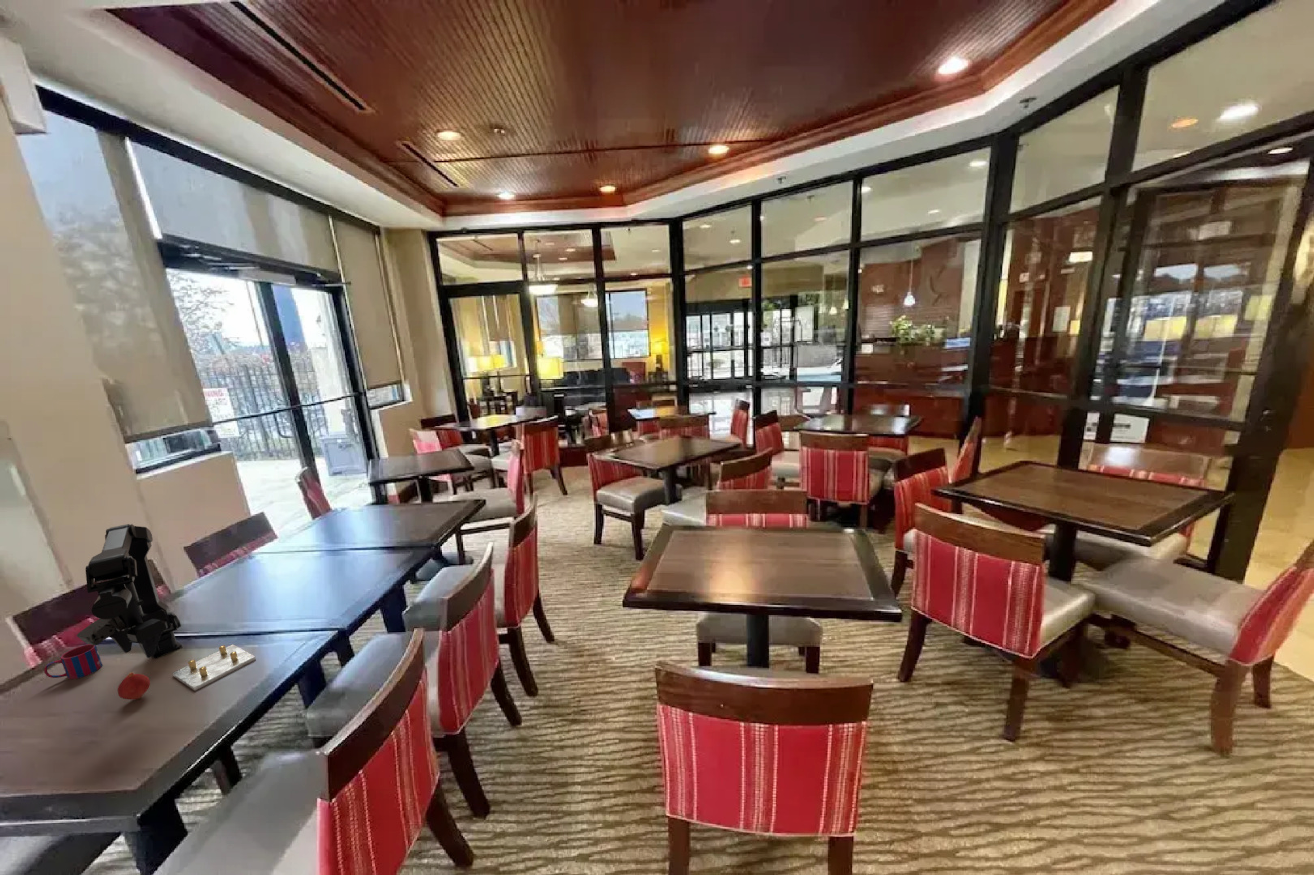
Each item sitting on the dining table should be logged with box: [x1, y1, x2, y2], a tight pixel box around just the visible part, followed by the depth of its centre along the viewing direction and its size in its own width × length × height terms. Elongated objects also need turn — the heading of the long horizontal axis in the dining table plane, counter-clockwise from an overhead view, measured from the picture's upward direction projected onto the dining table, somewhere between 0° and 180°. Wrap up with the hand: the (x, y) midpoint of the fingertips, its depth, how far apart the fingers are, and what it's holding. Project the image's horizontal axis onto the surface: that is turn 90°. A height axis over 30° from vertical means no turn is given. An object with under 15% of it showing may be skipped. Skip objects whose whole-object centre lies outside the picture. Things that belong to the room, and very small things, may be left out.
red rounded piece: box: [117, 671, 151, 701], centre depth 127 cm, size 6×6×8 cm
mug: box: [43, 644, 103, 680], centre depth 138 cm, size 7×10×7 cm
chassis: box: [172, 644, 257, 692], centre depth 138 cm, size 14×14×4 cm
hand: (139, 654), depth 126 cm, fingers open, 9 cm apart
